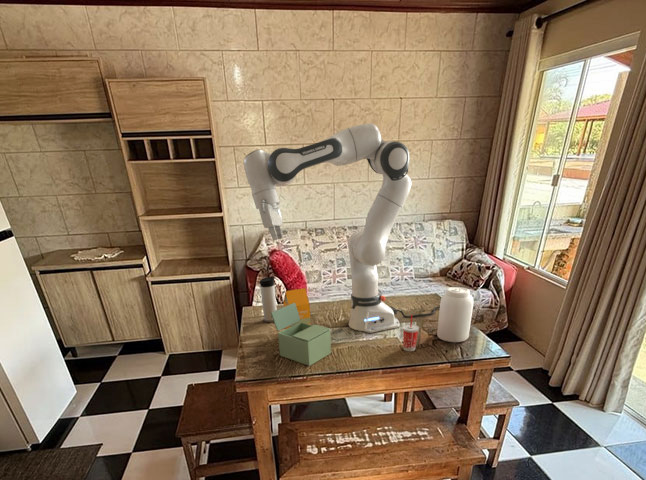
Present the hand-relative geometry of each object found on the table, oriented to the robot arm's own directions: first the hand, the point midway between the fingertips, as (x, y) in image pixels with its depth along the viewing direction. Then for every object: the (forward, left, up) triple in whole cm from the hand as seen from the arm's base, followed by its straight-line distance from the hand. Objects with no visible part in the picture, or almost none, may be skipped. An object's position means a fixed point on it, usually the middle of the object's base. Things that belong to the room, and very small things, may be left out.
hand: (278, 239), depth 152 cm
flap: (0, +11, -27) cm, 29 cm away
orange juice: (-5, -1, -40) cm, 41 cm away
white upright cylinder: (-66, +18, -40) cm, 80 cm away
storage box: (-5, +18, -40) cm, 44 cm away
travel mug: (+5, -22, -40) cm, 47 cm away
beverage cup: (-45, +24, -40) cm, 65 cm away
